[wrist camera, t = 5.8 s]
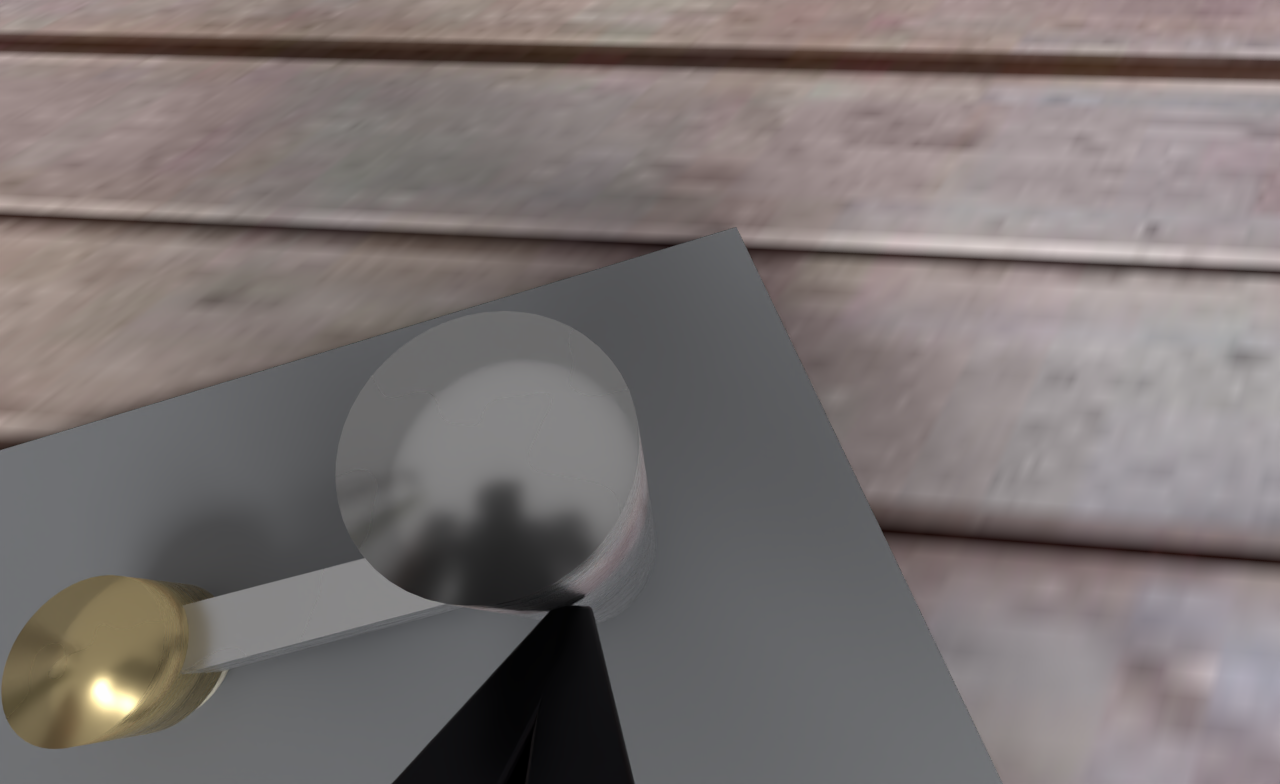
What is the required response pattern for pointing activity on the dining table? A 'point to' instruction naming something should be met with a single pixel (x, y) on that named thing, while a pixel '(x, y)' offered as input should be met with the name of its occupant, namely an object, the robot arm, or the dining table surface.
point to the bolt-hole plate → (481, 640)
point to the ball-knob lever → (383, 533)
